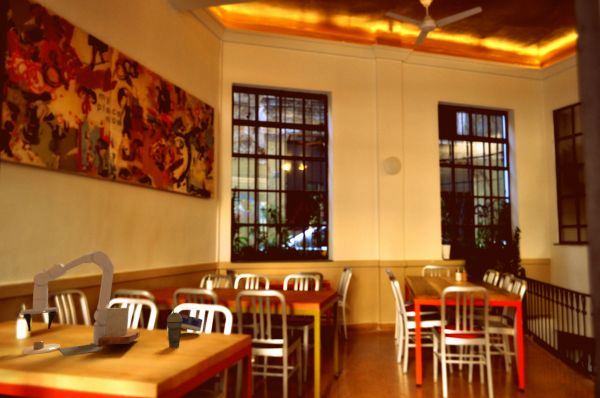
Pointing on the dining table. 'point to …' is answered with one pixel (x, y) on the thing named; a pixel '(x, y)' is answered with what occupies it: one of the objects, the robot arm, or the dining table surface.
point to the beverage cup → (174, 329)
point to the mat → (80, 349)
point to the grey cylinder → (116, 322)
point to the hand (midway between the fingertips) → (39, 329)
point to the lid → (40, 348)
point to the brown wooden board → (119, 338)
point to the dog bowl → (191, 323)
